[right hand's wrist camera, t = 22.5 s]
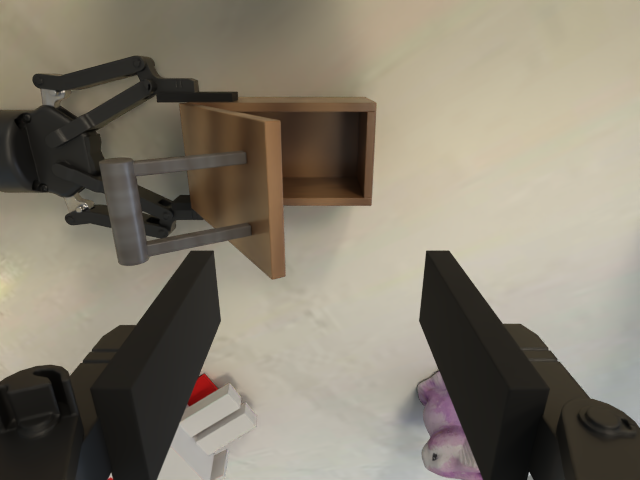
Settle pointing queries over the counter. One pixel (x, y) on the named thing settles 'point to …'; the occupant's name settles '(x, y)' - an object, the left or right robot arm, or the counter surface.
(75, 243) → the counter surface
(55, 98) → the left robot arm
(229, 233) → the door
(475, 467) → the figurine
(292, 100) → the chest
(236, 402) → the toy
